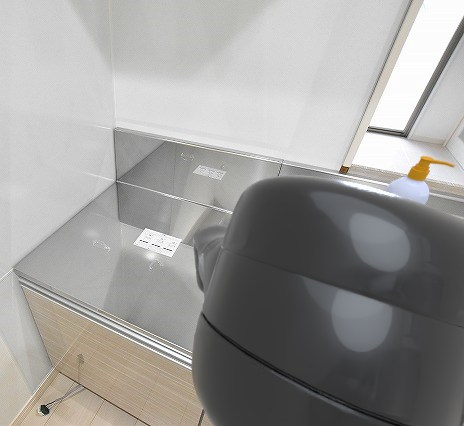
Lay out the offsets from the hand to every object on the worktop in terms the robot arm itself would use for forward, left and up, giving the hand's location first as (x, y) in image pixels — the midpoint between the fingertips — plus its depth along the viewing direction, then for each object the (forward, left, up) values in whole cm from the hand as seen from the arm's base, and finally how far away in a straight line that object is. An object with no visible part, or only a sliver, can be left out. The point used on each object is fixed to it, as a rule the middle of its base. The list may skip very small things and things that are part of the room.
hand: (418, 240), depth 46 cm
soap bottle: (+9, -36, -24) cm, 44 cm away
